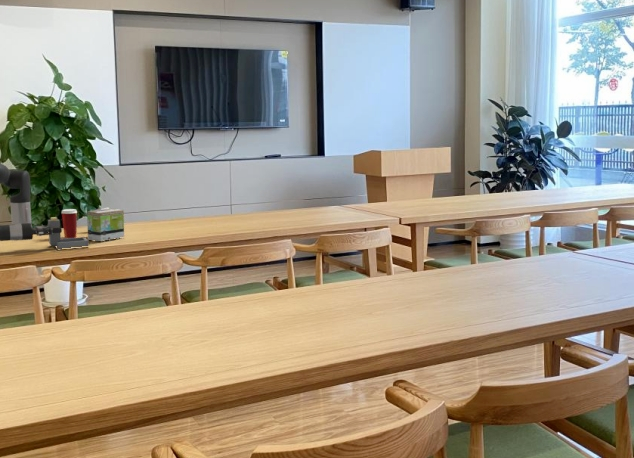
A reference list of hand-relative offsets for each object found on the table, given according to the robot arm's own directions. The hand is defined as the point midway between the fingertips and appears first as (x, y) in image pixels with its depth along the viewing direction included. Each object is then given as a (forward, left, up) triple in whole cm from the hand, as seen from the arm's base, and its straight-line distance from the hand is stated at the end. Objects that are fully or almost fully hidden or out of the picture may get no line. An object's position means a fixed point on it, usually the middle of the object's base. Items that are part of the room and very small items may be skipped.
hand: (60, 229), depth 316 cm
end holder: (0, +4, -9) cm, 10 cm away
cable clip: (-7, -2, -9) cm, 11 cm away
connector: (0, -3, -6) cm, 7 cm away
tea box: (-14, +23, -9) cm, 29 cm away
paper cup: (-28, +8, -9) cm, 31 cm away
